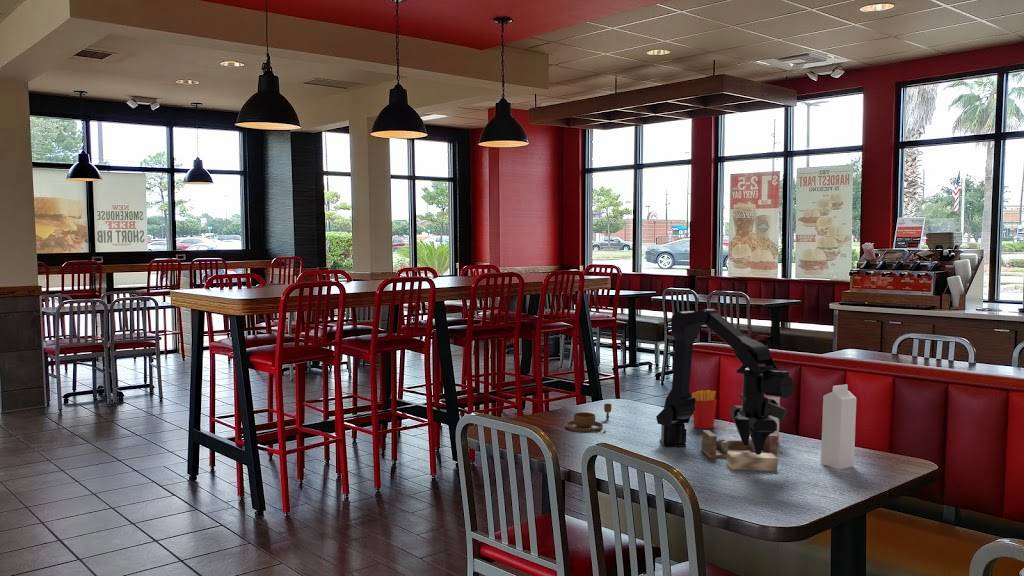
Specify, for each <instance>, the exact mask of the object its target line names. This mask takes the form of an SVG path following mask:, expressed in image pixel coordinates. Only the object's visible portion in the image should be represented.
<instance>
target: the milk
mask: <svg viewBox="0 0 1024 576" xmlns="http://www.w3.org/2000/svg"><path fill="white" fill-rule="evenodd" d="M848 386H849V385H848V384H847V383H846V384H845V383H844V384H838V385H833V386H832V391H831V392H828V393H826V394H824V395H823V398H822V421H821V422H822V424H821V447H820V448H821V449H820V451H821V452H820V465H822V466H825V465H826V466H825V467H828V466H829V468H832V469H835V468H836V469H835V470H838V469H839V470H840V469H841V470H845V468H846V469H849V468H854V466H855V448H856V446H855V442H856V423H857V422H856V421H857V419H856V418H857V417H856V416H857V397H856V396H855V395H854V394H853V393H852V392H851V391H850V390H848ZM841 470H840V471H841Z"/></svg>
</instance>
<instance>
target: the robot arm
mask: <svg viewBox="0 0 1024 576" xmlns="http://www.w3.org/2000/svg"><path fill="white" fill-rule="evenodd" d="M702 326H706V327H708V329H710V330H711V331H712V332H713V333H714V334H715V335H717V336H718V337H719V338H720V339H721V340H722V341H724V343H726V344H727V345H728V346H729V347H730V348H732V350H733V353H734V356H735V357H736V358H737V360H738V361H739V363H741V366H740V367H739V368H738V369H736V370H735V371H736V373H737V374H739V375H740V374H741V375H742V393H740V394H739V398H740V399H742V402H741V404H742V405H733V406H732V407H731V408H730V412H729V413H730V416H731V417H732V419H731V420H732V421H733V422H734V426H735V427H736V431H737V433H738V434H739V437H740V440H742V442H743V445H745V446H747V445H748V442H749V439H752V443H753V446H754V449H755V453H756V454H757V455H760V454H761V452H762V449H763V446H764V443H765V441H766V438H767V436H768V435H770V434H771V433H774V432H775V431H777V423H776V422H775V421H774V420H773V419H771V418H770V417H769V415H771V416H773V417H776V418H778V419H779V421H782V422H783V421H784V418H785V416H786V414H787V408H785V407H783V406H781V405H780V406H779V405H777V402H776V401H775V400H773V399H770V398H769V399H768V397H766V396H765V394H766V395H771V396H776V397H780V399H781V398H783V399H788V398H790V397H791V396H792V394H793V392H794V388H795V383H794V381H793V379H792V377H791V376H790V371H786V370H779V367H778V366H777V364H776V362H775V361H774V359H773V357H772V355H771V353H770V352H771V350H770V349H769V347H768V346H767V345H765V344H764V343H761V342H760V341H758V340H756V339H753V338H751V337H748V336H746V335H745V334H744V333H742V332H741V331H740V330H739V329H737V327H736V326H734V325H733V324H732V323H730V322H729V321H728V320H727V319H726V318H725V317H723V316H722V315H721V314H720V313H719V311H718V310H716V309H715V308H704V309H701V310H697V311H694V310H690V311H689V310H687V311H677V312H675V313H674V314H672V316H671V319H670V327H671V330H670V331H671V334H672V336H673V338H674V340H675V346H674V347H675V348H674V356H673V357H674V358H673V359H674V360H673V370H672V380H671V381H672V383H671V384H672V385H671V390H670V391H669V393H668V395H667V396H666V398H665V402H664V405H663V409H662V410H661V411H660V412H659V413H658V414H657V415H656V416H655V417H656V422H657V424H658V425H660V427H661V428H660V429H661V430H660V431H661V432H660V434H661V435H660V439H659V442H660V444H662V445H663V447H687V444H686V443H687V428H686V425H685V424H690V420H691V417H693V412H694V411H695V402H696V398H695V397H692V393H691V392H690V382H691V374H692V373H691V372H692V359H693V348H694V342H695V340H696V339H697V337H698V336H699V334H700V330H701V327H702Z"/></svg>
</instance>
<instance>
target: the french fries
mask: <svg viewBox="0 0 1024 576" xmlns="http://www.w3.org/2000/svg"><path fill="white" fill-rule="evenodd" d="M716 393H717V392H716V390H711V389H707V390H705V389H704V390H703V389H701V390H697V391H695V392H694V391H693V392H692V393H691V396H692V397H695V398H696V402H695V411H694V412H693V415H692V417H693V427H694V428H696V429H711V428H713V427H714V426H715V418H716V417H715V416H716V408H717V401H718V399H716Z"/></svg>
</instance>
